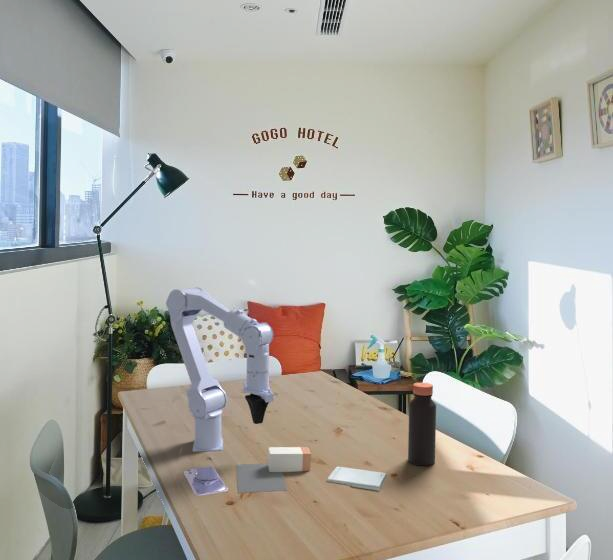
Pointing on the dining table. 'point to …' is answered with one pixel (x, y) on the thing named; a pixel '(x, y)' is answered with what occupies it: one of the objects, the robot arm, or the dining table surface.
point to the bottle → (422, 426)
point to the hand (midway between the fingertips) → (257, 422)
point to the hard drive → (358, 478)
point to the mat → (259, 479)
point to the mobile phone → (205, 481)
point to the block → (289, 459)
